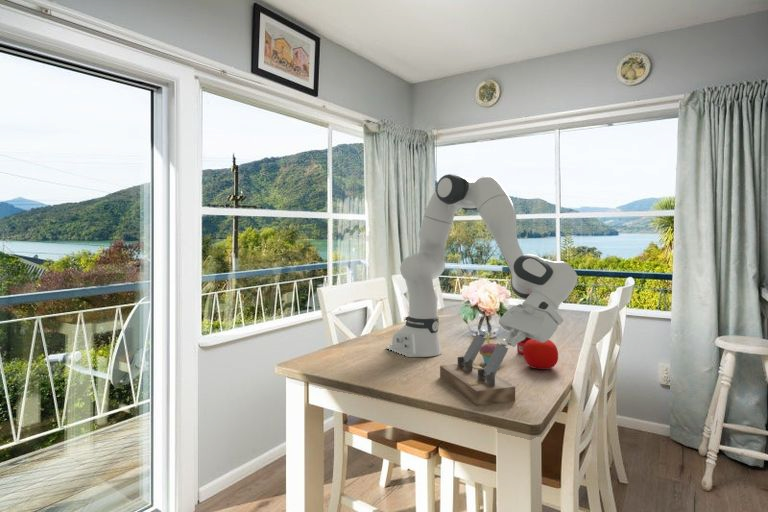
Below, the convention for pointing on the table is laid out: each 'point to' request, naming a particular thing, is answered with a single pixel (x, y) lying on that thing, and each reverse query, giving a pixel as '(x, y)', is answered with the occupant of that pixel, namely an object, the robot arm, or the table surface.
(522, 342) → the canned food
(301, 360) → the table surface
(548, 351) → the tomato
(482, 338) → the grey knob lever
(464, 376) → the switch box
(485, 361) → the cupcake
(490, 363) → the cream knob lever
